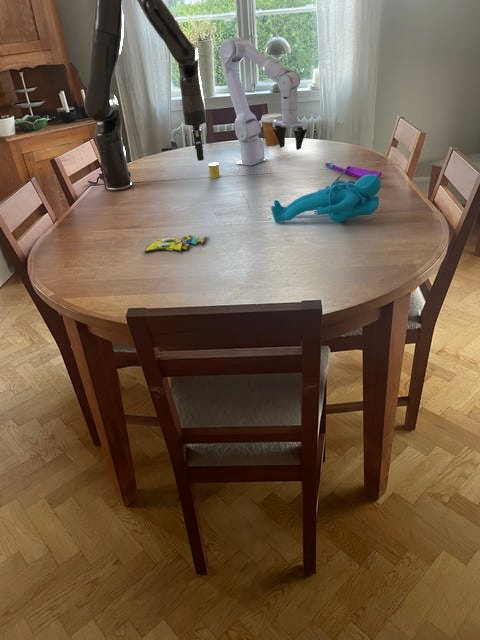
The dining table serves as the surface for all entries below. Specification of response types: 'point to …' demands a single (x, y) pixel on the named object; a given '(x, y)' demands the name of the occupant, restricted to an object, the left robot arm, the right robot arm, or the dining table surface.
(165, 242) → the toy
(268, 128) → the disposable coffee cup
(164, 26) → the left robot arm
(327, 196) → the toy
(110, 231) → the dining table surface
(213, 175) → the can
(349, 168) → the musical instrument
